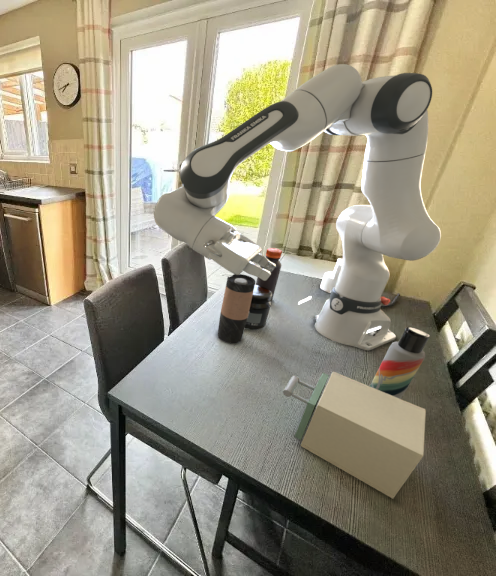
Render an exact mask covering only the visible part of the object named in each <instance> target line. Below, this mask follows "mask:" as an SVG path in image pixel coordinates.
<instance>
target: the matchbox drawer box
mask: <svg viewBox="0 0 496 576" xmlns="http://www.w3.org/2000/svg"><path fill="white" fill-rule="evenodd" d="M426 411H427V409H426V408H423V407H422V406H421V407H420V406H418V405H416V404H414V403H411V402H409V401H407V400H405V399H404V400H403V399H402V398H401V399H399V398H396V397H394V396H392V395H389V394H387V393H384V392H382V391H379V390H377V389H375V388H372V387H370V385H368V384H365V383H362V382H360V381H358V380H355V379H353V378H350V377H348V376H345V375H343V374H340V373H338V372H335V371H332V373H331V374H330V376H329V378H328V380H327V382H326V384H325V387H324V389H323V391H322V394H321V396H320V399H319V401H318V403H317V406H316V408H315V410H314V413H313V415H312V417H311V419H310V421H309V423H308V426H307V428H306V430H305V433H304V435H303V438H302V441H301V443H300V447H302V448H304V449H305V450H307V451H308V452H310V453H312V454H314V455H316V456H317V457H319V458H321V459H322V460H325V461H326V462H328V463H329V464H331V465H333V466H335V467H336V468H338V469H340V470H342V471H344V472H345V473H347V474H348V475H350V476H352V477H353V478H356V479H357V480H359V481H361V482H363V484H366V485H368V486H370V487H371V488H373V489H374V490H377V491H378V492H380V493H381V494H383V495H385V496H387V497H389V498H391V499H393V500H394V499H395V497H396V495H397V494H398V493H399V491H400V490H401V488H402V487H403V486H404V485H405V483H406V482H407V481H408V478H410V476H411V475H412V473H413V472H414V470H415V469H416V467H417V466H418V465H419V463H420V462H421V460H422V459H423V458H424V454H425V453H424V451H425V434H426V433H425V432H426V414H427V413H426Z"/></svg>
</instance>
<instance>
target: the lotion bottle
mask: <svg viewBox="0 0 496 576" xmlns="http://www.w3.org/2000/svg"><path fill="white" fill-rule="evenodd" d="M429 339H430V334H428V333H427V332H425V331H423V330H421V329H420V328H417V327H414V326H407V327H405V329H404V331H403V332H402V334H401V336H400V338H399V340H398V341H394V342H393V341H392V343H391V344H390V345H389V347H388V349H387V351H386V353H385V355H384V358H383V359H382V361H381V362H380V365H379V367H378V369H377V371H376V373H375V375H374V377H373V379H372V381H371V383H370V385H369V386H370V387H372V388H375V389H377V390H379V391H382V392H384V393H387V394H389V395H392V396H394V397H396V398H399V399H401V400H402V398H403V397H404V394H405V393H406V391H407V389H408V388H409V386H410V384H411V383H412V381H413V379H414V377H415V376H416V374H417V372H418V370H419V369H420V367H421V365H422V363H423V362H424V360H425V358H426V352H425V351H424V350H423V349H424V348H425V346H426V344H427V343H428V341H429Z"/></svg>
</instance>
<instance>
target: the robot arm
mask: <svg viewBox="0 0 496 576" xmlns="http://www.w3.org/2000/svg"><path fill="white" fill-rule="evenodd" d="M432 98H433V86H432V84H431V81H430V79H429V78H428V77H427V76H426V75H425V74H422V73H417V72H402V73H398V74H395V75H385V76H378V77H373V78H369V79H367V80H364V81H362V76H361V74H360V72H359V71H358V70H357V68H356V67H354V66H353V65H350V64H346V63H338V64H334V65H332V66H329V67H328V68H326V69H324V70H323V71H321V72H319V73H317V74H316V75H314V76H313V77H311V78H309V79H308V80H306V81H305V82H304V83H302V84H301V85H300V86H298V87H297V88H295V89H294V90H293V91H292V92H290V93H289V94H288V95H286V96H285V97H284V98H283V99H282V100H280V101H277V102H275V103H272V104H270V105H267V106H266V107H265V108H264V109H261V110H260V111H259V112H257V113H255V114H254V115H253V116H252V117H250V118H248V119H247V120H245V121H244V122H243V123H241V124H239V125H238V126H237V127H235V128H233V129H232V130H231V131H230V132H228V133H227V134H225V135H223V136H222V137H220V138H219V139H217V140H214V141H212V142H210V143H206V144H204V145H202V146H201V145H200V146H199V147H197V148H195V149H193V150H192V151H191V152H189V154H188V155H187V156H185V158H184V159H183V162H182V163H181V166H180V170H179V179H180V182H181V184H182V185H181V186H180V187H178V188H176V189H174V190H171V191H170V192H164V193H163V194H161V196H160V197H159V198H158V200H157V202H156V204H155V207H154V211H153V218H154V222H155V224H156V226H157V227H158V228H159V229H161V231H163V232H164V233H166V234H167V235H169V236H170V237H172V238H173V239H175V240H176V241H179V242H183V243H185V244H186V245H187V246H188V247H189V248H190V249H191V250H193V251H194V252H196V253H198V254H199V255H201V256H202V257H204V258H206V259H207V260H209V261H210V260H212V261H213V262H214V263H216V264H218V265H219V266H220V267H222V268H223V269H225V270H226V271H228V272H229V273H231V274H232V275H234V274H236V275H239V274H242V273H243V272H245V273H246V274H248V275H250V276H253V277H259V278H260V279H262V280H264V281H266V280H267V279H268V278H269V276H270V275H271V273H270V272H272V271H273V270H274V268H275V267H276V264H274V263H273V262H271V261H269V260H268V259H267V258H266V255H264V254H263V253H261V252H262V250H263V249H262V247H261V246H260V245H258V244H257V243H255V242H254V241H253V240H251V239H250V238H248V237H247V236H245V235H244V234H242V233H240V232H238V231H237V229H238V228H236V227H235V226H234V225H232V224H230V223H228V222H226V221H225V220H222V219H221V218H220V217H217V216H216V215H217V214H218V213H219V212H220V211H221V210H223V208H224V207H225V206H226V204H227V202H228V200H229V196H230V186H231V185H230V183H231V178H232V176H233V174H234V172H235V171H236V169H237V167H238V166H239V165H241V164H242V163H243V162H244V161H246V160H248V159H249V158H250V157H252V156H253V155H254V154H256V153H257V152H259V151H261V150H262V149H263V148H265V147H266V146H268V145H269V144H270V145H271V146H272V147H273V148H275V149H277V150H280V151H283V152H294V151H296V150H298V149H300V148H302V147H304V146H305V145H307V144H309V143H310V142H312V141H313V140H314V139H316V138H317V137H318V136H320V135H321V134H322V133H326V134H328V135H331V136H351V137H358V136H359V137H362V136H366V138H367V141H366V146H365V151H364V158H363V167H362V168H363V169H362V177H361V183H360V184H361V185H360V190H361V192H362V194H363V196H364V197H365V198H366V199H367V200H368V202H369V204H355V205H351V206H349V207H347V208H345V209H344V210H343V211H342V212H340V214H339V216H338V218H337V219H336V223H335V228H336V231H337V233H338V235H339V238H340V240H341V247H342V259H343V262H342V267H341V271H340V274H339V277H338V280H337V283H336V286H335V287H334V288H333V289H332V291H331V293H329V297H328V298H327V299H326V300H325V302H324V304H323V306H322V308H321V310H320V312H319V314H316V315H315V317H314V318H315V322H314V328H315V330H316V332H318V334H320V335H321V336H323V337H325V338H327V339H328V340H330V341H333V342H335V343H338V344H340V345H341V344H342V345H346V346H349V347H351V346H352V347H355V348H358V349H360V350H364V351H371V350H374V349H376V348H379V347H380V346H383V345H385V344H387V343H391V342H393V341H395V340H396V338H397V336H396V334H395V333H394V332H393V331H391V330H390V327H391V325H392V320H391V318H390V317H389V316H388V315H387V314H386V313H385V311H383V310H382V308H388V307H391V306H393V305H394V304H395V303H396V301H397V300H398V299H399V297H400V296H401V293H399V292H398V293H396V295H397V296H395V297H394V298H393V300H392V301H391V299H390V298H387V297H385V296H382V295H383V294H384V291H385V288H386V286H387V285H388V282H389V280H390V270H389V268H388V266H387V265H386V263H385V260H384V256H386V257H388V258H392V259H396V260H402V261H412V262H413V261H418V260H421V259H423V258H425V257H427V256H428V255H430V254H432V253H433V252H434V251H435V250H436V248H438V245H439V244H440V242H441V237H442V231H441V228H440V227H439V226H438V225H437V224H436V223H435V222H434V221H433V219H432V218H431V217H430V215H429V213H428V211H427V209H426V205H425V203H424V200H423V196H422V188H421V185H422V183H421V182H422V175H423V169H424V162H425V158H426V157H425V156H426V152H427V146H428V140H429V113H428V109H429V106H430V104H431V102H432ZM257 264H258V265H257ZM260 265H261V266H262V267H264V269H263V268H261V267H260ZM267 270H268V271H267ZM312 298H313V297H312V295H309V296H308V297H306V298H304V299H301V300H299V301H298V303H297V305H301V304H303V303H305V302H308V301H310V300H312Z"/></svg>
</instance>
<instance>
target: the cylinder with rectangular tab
mask: <svg viewBox="0 0 496 576" xmlns="http://www.w3.org/2000/svg"><path fill="white" fill-rule="evenodd" d="M342 262H343V258H339V257H338V258H337V260H336V263H335V266H334V269H333V271H326V272H324V274H323V277H322V280H321V283H320V286H319V288H320V289H321V290H322V291H324V292H325V293H329V294H330V293H331V291H332V289H333V288H334V287H335V286H336V283H337V280H338V277H339V274H340V271H341V267H342Z"/></svg>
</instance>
